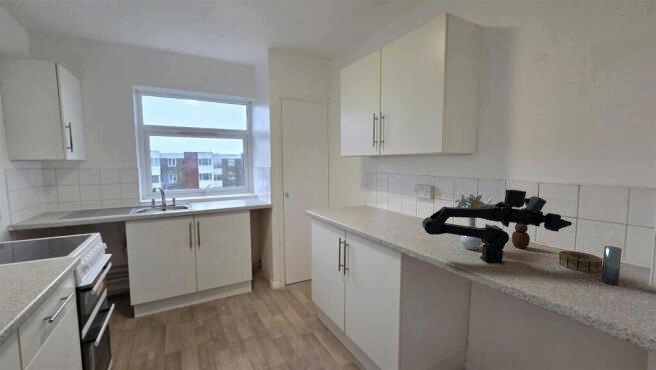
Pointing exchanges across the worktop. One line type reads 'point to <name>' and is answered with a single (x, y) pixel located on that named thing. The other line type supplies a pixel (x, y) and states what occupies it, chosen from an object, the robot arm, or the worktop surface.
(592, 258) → the segmented wooden ring
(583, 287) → the worktop surface
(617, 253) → the tall steel post
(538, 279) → the worktop surface
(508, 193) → the robot arm
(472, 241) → the flower vase
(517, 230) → the wooden figurine
